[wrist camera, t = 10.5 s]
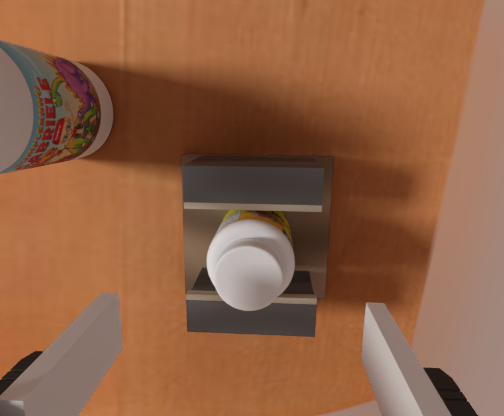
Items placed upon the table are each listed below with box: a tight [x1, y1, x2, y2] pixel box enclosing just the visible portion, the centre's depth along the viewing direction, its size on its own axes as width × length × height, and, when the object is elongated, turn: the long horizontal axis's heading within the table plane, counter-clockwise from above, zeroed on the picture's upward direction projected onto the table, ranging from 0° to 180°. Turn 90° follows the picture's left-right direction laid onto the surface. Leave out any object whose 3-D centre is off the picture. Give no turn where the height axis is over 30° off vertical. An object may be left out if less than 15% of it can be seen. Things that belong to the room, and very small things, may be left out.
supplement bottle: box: [207, 210, 295, 311], centre depth 26 cm, size 6×6×10 cm
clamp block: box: [181, 154, 334, 337], centre depth 29 cm, size 12×12×7 cm
